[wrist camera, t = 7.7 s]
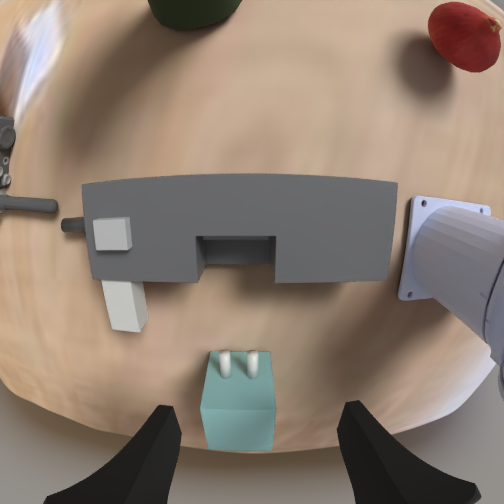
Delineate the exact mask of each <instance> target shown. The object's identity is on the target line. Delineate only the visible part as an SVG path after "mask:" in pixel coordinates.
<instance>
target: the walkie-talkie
mask: <svg viewBox="0 0 504 504" xmlns="http://www.w3.org/2000/svg"><path fill="white" fill-rule="evenodd" d="M13 126H14V119H13V118H12V117H6V116H4V115H0V213H4V212H5V211H6V210H7V209H16V210H26V211H35V212H44V213H54V212H55V211H56V210H57V208H58V203H57V201H56V200H54V199H41V198H27V197H11V196H9V195H6V187H7V185H8V184H9V183H10V181H11V176H10V175H8V172H9V159H10V149H11V146H12V145H13V143H14V140H15V130H14V129H13Z"/></svg>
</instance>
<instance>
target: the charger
mask: <svg viewBox="0 0 504 504" xmlns="http://www.w3.org/2000/svg"><path fill="white" fill-rule="evenodd" d="M200 411H201V416H202V421H203V426H204V431H205V436H206V441H207V445H208V449H210V450H230V451H267V450H272V445H273V436H274V427H275V417H276V402H275V393H274V384H273V375H272V366H271V357H270V352H257V351H255V350H250V351H248V352H229V351H228V350H221V351H211V352H210V357H209V363H208V368H207V373H206V378H205V384H204V389H203V394H202V400H201V405H200Z"/></svg>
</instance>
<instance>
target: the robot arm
mask: <svg viewBox="0 0 504 504" xmlns="http://www.w3.org/2000/svg"><path fill="white" fill-rule="evenodd" d="M422 201H424V204H423V206H422V205H421V203H422ZM490 213H491V210H490V207H489V206H485V205H479V204H473V203H467V202H461V201H455V200H448V199H441V198H433V197H425V196H417V195H416V196H414V197H413V198H412V199H411V207H410V218H409V228H408V236H407V244H406V251H405V257H404V264H403V269H402V275H401V280H400V286H399V291H398V298H399V299H400V300H401V301H408V300H419V299H428V298H434V299H436V300H437V301H438V302H439V303H440V304H442V305H443V306H444V307H445V308H447V309H448V310H449V311H450V312H451V313H453V314H454V315H455V316H456V317H457V318H458V319H460V320H461V321H462V322H463V323H464V324H465V325H467V326H468V327H469V328H470V329H471V330H472V331H473V332H475V333H476V334H477V335H478V336H479V337H480V338H481V339H482V340H483V341H485V342H486V343H487V344H488V345H489V346H490V348H491V355H490V357H491V358H492V359H493V360H494V361H495V362H496V363H497V364H498V365H499V366H500V369H499V374H498V387H499V392H500V394H501V397H502V399H503V400H504V220H500V219H497V218H494V217H491V216H490ZM409 292H410V294H409V295H408V293H409ZM407 295H408V296H407ZM337 433H338V439H339V445H340V449H341V453H342V456H343V459H344V462H345V465H346V468H347V471H348V475H349V478H350V481H351V484H352V488H353V491H354V496H355V502H356V504H475V503H476V502H477V501H478V500H480V498H481V494H480V492H479V490H478V488H477V486H476V485H475V483H472V482H468V481H465V480H462V479H458V478H456V477H453V476H451V475H448V474H446V473H444V472H442V471H440V470H438V469H436V468H434V467H432V466H430V465H429V464H427V463H426V462H424V461H423V460H421V459H419V458H418V457H417V456H415V455H414V454H413V453H411V452H410V451H409V450H407V449H406V448H405V447H404V446H403V445H401V444H400V443H399V442H398V441H397V440H396V439H395V438H394V437H393V436H392V435H391V434H390V433H389V432H388V431H387V430H386V429H385V428H384V427H383V426H382V425H381V424H380V423H379V422H378V421H377V420H376V419H375V418H374V417H373V415H372V414H371V413H370V412H369V411H368V410H367V408H366V407H365V406H364V405H363V404H362V403H361V401H359V400H357V401H351V402H346V403H345V406H344V409H343V412H342V416H341V419H340V422H339V425H338V428H337ZM181 435H182V433H181V430H180V427H179V424H178V421H177V418H176V415H175V411H174V408H173V406H166V405H158V406H157V408H156V409H155V410H154V412H153V413H152V414H151V416H150V417H149V418H148V420H147V421H146V422H145V423H144V425H143V426H142V427H141V429H140V430H139V431H138V432H137V433H136V434H135V436H134V437H133V438H132V439H131V440H130V441H129V443H127V444H126V446H125V447H124V448H123V449H122V450H121V451H120V452H119V453H118V454H117V455H116V456H114V458H112V459H111V460H110V461H109V462H108V463H106V464H105V465H104V466H103V467H101V468H100V469H99V470H97V471H96V472H95V473H93V474H92V475H90V476H89V477H87V478H86V479H84V480H82V481H80V482H78V483H77V484H75V485H73V486H71V487H69V488H67V489H65V490H62V491H60V492H57V493H55V494H52V495H49V496H47V498H46V499H45V501H44V503H43V504H167V500H168V494H169V490H170V486H171V482H172V478H173V474H174V470H175V467H176V463H177V459H178V455H179V450H180V443H181Z"/></svg>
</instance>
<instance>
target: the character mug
mask: <svg viewBox="0 0 504 504" xmlns="http://www.w3.org/2000/svg"><path fill="white" fill-rule="evenodd" d="M241 1H242V0H148V3H149V5H150V7H151V10H152V12H153V14H154V16H155V17H156V18H157V20H158V21H159V22H160V23H161V25H163V26H166V27H169V28H172V29H174V30H187V29H197V28H200V27H203V26H207V25H210V24H213V23H217V22H219V21H221V20H222V19H224V18H225V17H227V16H229V15H230V14H232V13H234V12H235V10H236V9H237V7H238V6H239V4H240V3H241Z"/></svg>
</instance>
